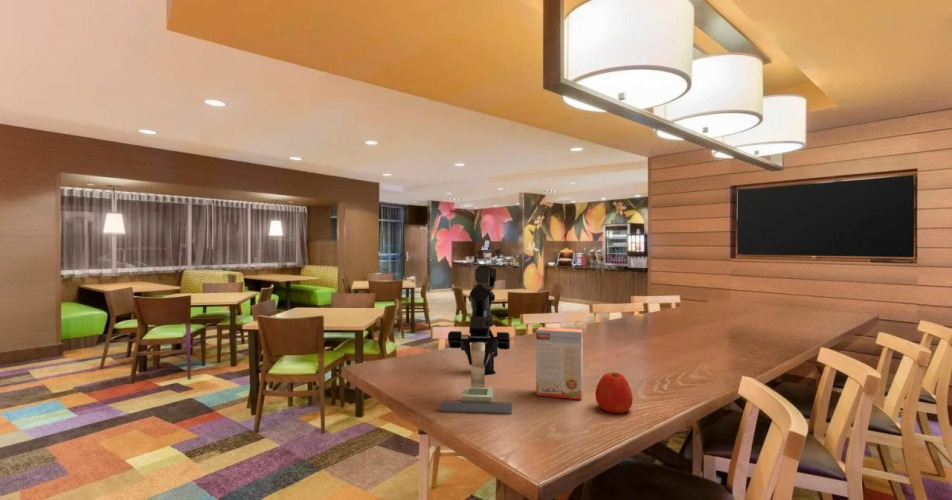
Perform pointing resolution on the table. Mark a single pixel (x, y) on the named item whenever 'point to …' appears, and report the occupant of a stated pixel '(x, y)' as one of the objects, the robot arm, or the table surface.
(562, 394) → the cracker box
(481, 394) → the socket block
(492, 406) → the rail
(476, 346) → the birch dowel
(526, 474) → the table surface
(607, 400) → the apple
